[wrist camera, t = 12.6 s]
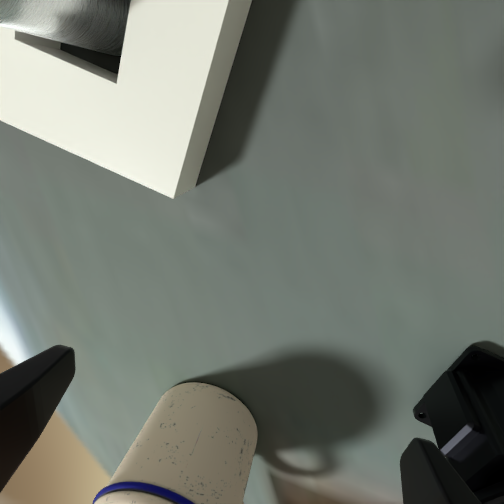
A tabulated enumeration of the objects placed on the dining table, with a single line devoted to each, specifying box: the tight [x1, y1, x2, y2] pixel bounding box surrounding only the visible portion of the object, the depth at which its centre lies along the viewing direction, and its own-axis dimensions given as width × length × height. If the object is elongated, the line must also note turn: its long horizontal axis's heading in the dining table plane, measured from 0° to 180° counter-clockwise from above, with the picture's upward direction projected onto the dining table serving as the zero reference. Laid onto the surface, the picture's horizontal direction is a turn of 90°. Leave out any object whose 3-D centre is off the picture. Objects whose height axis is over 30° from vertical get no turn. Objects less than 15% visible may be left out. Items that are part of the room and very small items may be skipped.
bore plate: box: [0, 0, 252, 199], centre depth 16 cm, size 14×14×3 cm
